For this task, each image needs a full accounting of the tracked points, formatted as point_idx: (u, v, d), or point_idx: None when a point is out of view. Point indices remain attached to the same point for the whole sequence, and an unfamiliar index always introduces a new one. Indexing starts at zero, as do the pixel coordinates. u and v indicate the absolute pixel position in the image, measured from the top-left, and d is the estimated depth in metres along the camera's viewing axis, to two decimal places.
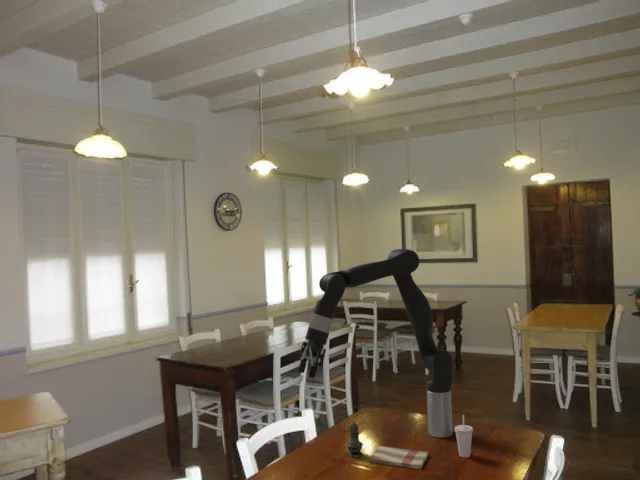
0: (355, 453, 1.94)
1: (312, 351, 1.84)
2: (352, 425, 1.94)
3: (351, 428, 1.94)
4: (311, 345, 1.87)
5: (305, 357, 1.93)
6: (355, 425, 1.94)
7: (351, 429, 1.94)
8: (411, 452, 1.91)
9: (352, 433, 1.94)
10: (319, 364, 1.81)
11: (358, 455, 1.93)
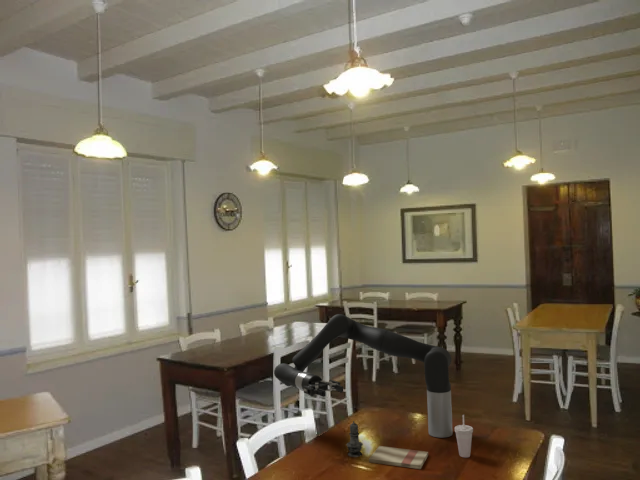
0: (355, 453, 1.94)
1: None
2: (352, 425, 1.94)
3: (351, 428, 1.94)
4: None
5: (337, 383, 2.11)
6: (355, 425, 1.94)
7: (351, 429, 1.94)
8: (411, 452, 1.91)
9: (352, 433, 1.94)
10: (310, 392, 2.03)
11: (358, 455, 1.93)
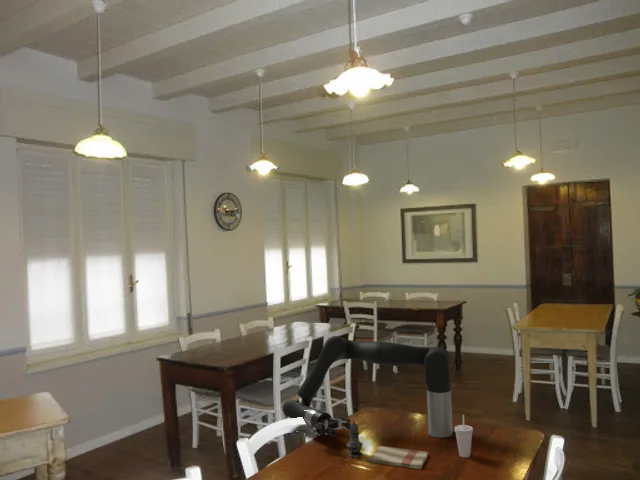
0: (355, 453, 1.94)
1: None
2: (352, 425, 1.94)
3: (351, 428, 1.94)
4: None
5: (347, 420, 2.08)
6: (355, 425, 1.94)
7: (351, 429, 1.94)
8: (411, 452, 1.91)
9: (352, 433, 1.94)
10: (320, 431, 2.00)
11: (358, 455, 1.93)
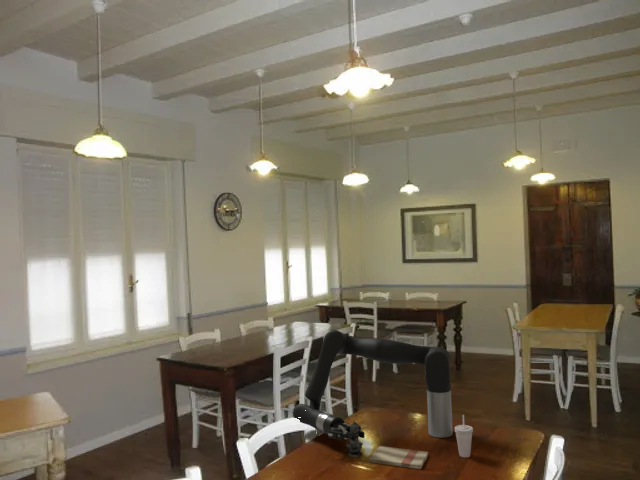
0: (355, 453, 1.94)
1: (339, 435, 1.98)
2: (352, 425, 1.94)
3: (351, 428, 1.94)
4: None
5: None
6: (355, 425, 1.94)
7: (351, 429, 1.94)
8: (411, 452, 1.91)
9: (352, 433, 1.94)
10: (339, 435, 1.94)
11: (358, 455, 1.93)
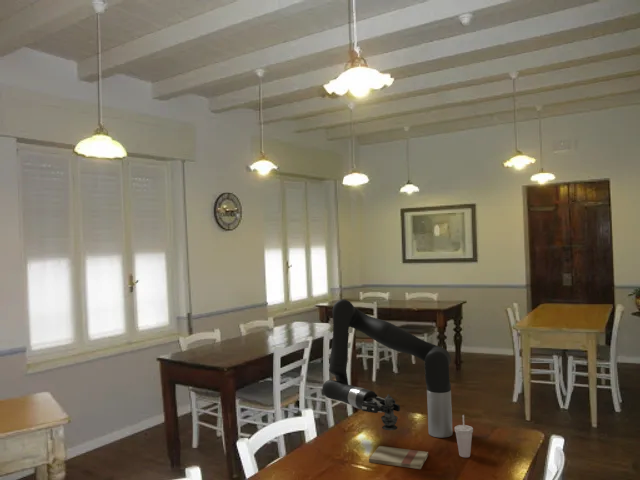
0: (390, 426, 1.89)
1: (373, 409, 1.94)
2: (387, 398, 1.89)
3: (386, 401, 1.89)
4: None
5: None
6: (390, 398, 1.89)
7: (386, 402, 1.89)
8: (411, 452, 1.91)
9: None
10: (374, 408, 1.89)
11: (393, 428, 1.88)
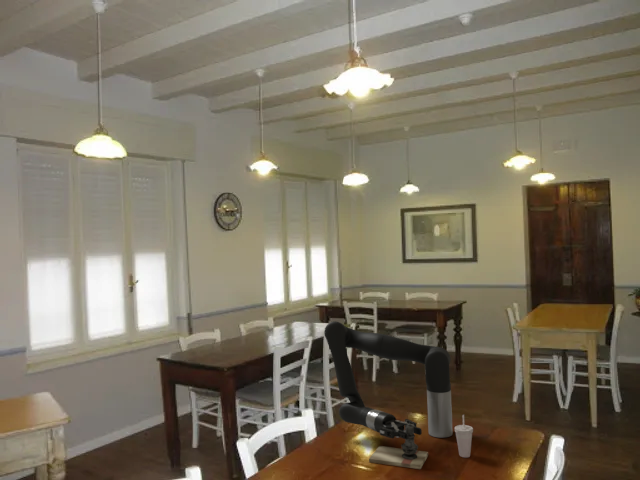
0: (410, 455, 1.87)
1: None
2: (408, 426, 1.87)
3: (407, 429, 1.87)
4: None
5: (413, 424, 1.93)
6: (411, 426, 1.87)
7: (407, 430, 1.87)
8: None
9: (408, 435, 1.86)
10: (391, 434, 1.86)
11: (413, 457, 1.86)
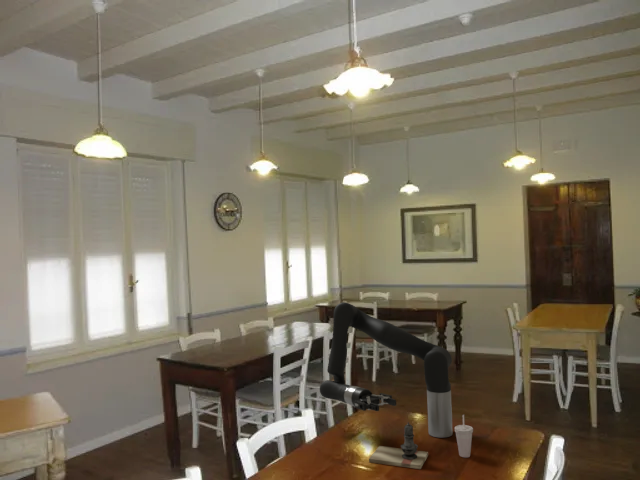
0: (410, 455, 1.87)
1: None
2: (407, 426, 1.87)
3: (406, 429, 1.87)
4: None
5: (388, 396, 2.04)
6: (410, 426, 1.87)
7: (406, 430, 1.87)
8: None
9: (407, 435, 1.87)
10: (363, 406, 1.96)
11: (413, 457, 1.86)
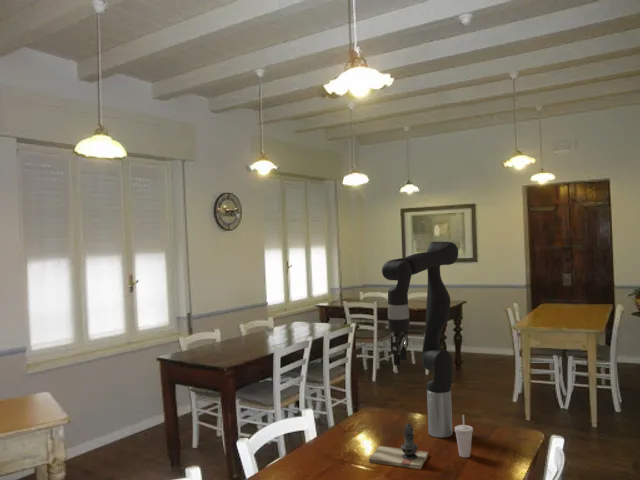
0: (410, 455, 1.87)
1: None
2: (407, 426, 1.87)
3: (406, 429, 1.87)
4: None
5: (406, 344, 1.97)
6: (410, 426, 1.87)
7: (406, 430, 1.87)
8: None
9: (407, 435, 1.87)
10: (394, 352, 1.85)
11: (413, 457, 1.86)
